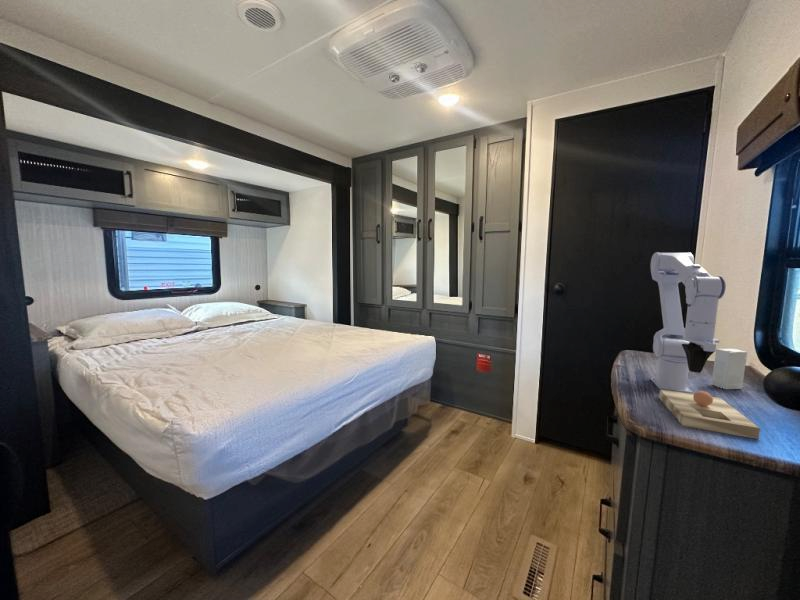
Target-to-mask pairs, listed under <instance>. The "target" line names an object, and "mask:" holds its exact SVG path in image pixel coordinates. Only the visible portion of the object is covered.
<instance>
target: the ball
mask: <svg viewBox="0 0 800 600" xmlns="http://www.w3.org/2000/svg"><path fill="white" fill-rule="evenodd" d="M693 394H694V396H693V398H694V401H695V402H696V403H697V404H699V405H702V406H708V405H711V404H712V402H713V398H712V397H713V396H712V395H711V394H710V393H708V392H707V391H705V390H704V391H703V390H699V391H696V392H695V393H693Z"/></svg>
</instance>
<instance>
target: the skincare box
mask: <svg viewBox="0 0 800 600" xmlns="http://www.w3.org/2000/svg"><path fill="white" fill-rule="evenodd" d="M747 357H748V351H746V350H741V349H737V348H716V351H715V355H714V363H713V370H712V378H711V385H712V386H713V385H715V386H714V387H716V386H717V387H716V388H719V387H720V388H719V389H722V388H723V389H722V390H741V389H743V385H744V377H745V370H746V362H747Z"/></svg>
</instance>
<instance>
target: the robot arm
mask: <svg viewBox="0 0 800 600" xmlns="http://www.w3.org/2000/svg"><path fill="white" fill-rule="evenodd" d="M649 266H650V273H651V275H650V276H651V278H652V281H655V282H656V283H657V285H658V291H659V298H660V299H659V300H660V307H661V309H660V310H661V316H662V324H663V325H662V326H663V328H662V329H660V330H658V331H656V332H655V334H654V335H653V343H652V351H653V354H654V355H655V356H656V357H657V359H656V361H655V368H654V369H655V370H654V377H650V380H651V381H652V383H653V384H655V386H656V387H657V388H658V389H659V390H660V389H662V390H669V391H676V392H683V393H690V394H693V391H692V390H691V389H690V388H688V387H687V386H688V378H689V372H691V373H697V374H698V373H700V374H701V372H702V371H703V369H704V367H705V365H706V363H707V361H708V359H709V358H710V357H711V356H712V355H713V354H714V353H716V349H717V343H718V344H720V340H719V339H717V338H715V334H716V333H715V330H716V325H717V324H716V322H717V316H718V308H719V307H718V306H719V300H721V299H722V298H723V297H724V295H725V292H726V289H727V288H726V287H727V285H726V281H725V279H724V277H723V276H722V275H719V276H712V275H711V274H710V273H709V272H708V271H707V270H706V269H704V268H703V267H702V265H701V264H695V258H694V254H692V252H691V251H690V252H689V251H688V252H658V251H656V252H654V253H653V254H652V256H651V259H650V265H649ZM679 283H682V284H683V285H684V287H685V289H684V290H685V296H686V297H685V301H686V302H685V303H686V304H687V311H686V318H685V327H684V320H683V314H682V306H681V305H682V304H681V297H680V292H679V291H680V290H679Z"/></svg>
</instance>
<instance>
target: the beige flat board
mask: <svg viewBox="0 0 800 600" xmlns="http://www.w3.org/2000/svg"><path fill="white" fill-rule="evenodd" d="M658 394H659V395H658V399H660V401H661V402H662V403H663V405H664V406H665V407H666V408H667V409H668V410H669V411H670V412H672V413H671V415H673V416H674V417H675V418H677V419H678V420H677V419H676V420H677V421H678V422H679V423H680V425H681V424H682V425H681V426H683V427H688V428H694V429H700V430H705V431H710V432H715V433H722V434H729V435H733V436H738V437H739V436H740V437H745V438H750V439H757V440H759V437H760V431H761V428H760V426H758V425H756V424H755V423H754V422H752V421H751V420H750V419H749V418H747V417H746V416H745V415H743V414H742V413H741V412H739V411H738V410H737V409H736V408H734V407H733V406H732V405H730V404H729V403H727V401H725V400H724V399H722V398H721V397H717V396H712V398H713V402H712V404H711V405H708V406H702V405H699V404H697V403H696V402H695V401H694V398H693V396H694V394H695V393H687V392H680V391H673V390H666V389H660V388H659V393H658Z"/></svg>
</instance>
